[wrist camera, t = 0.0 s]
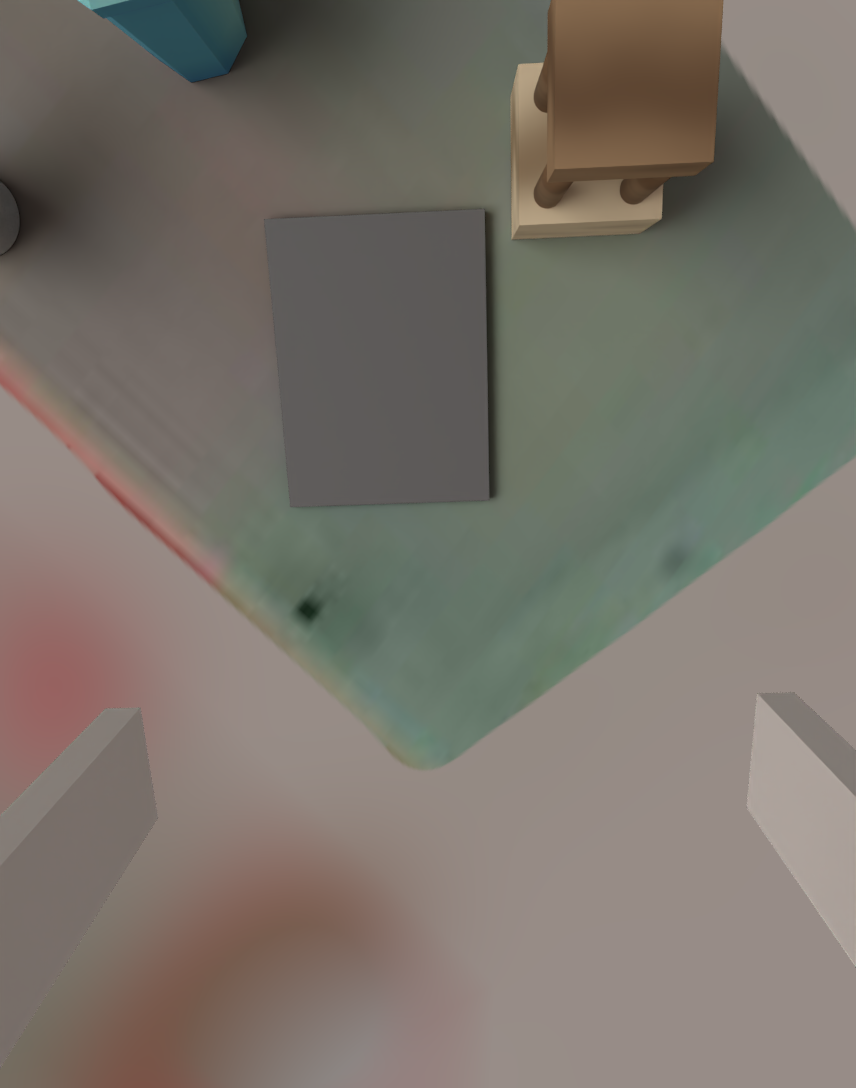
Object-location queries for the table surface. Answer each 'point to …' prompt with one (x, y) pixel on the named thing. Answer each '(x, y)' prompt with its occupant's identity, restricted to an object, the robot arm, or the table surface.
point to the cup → (181, 31)
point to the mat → (382, 356)
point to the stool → (628, 93)
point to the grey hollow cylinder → (8, 219)
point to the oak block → (584, 202)
